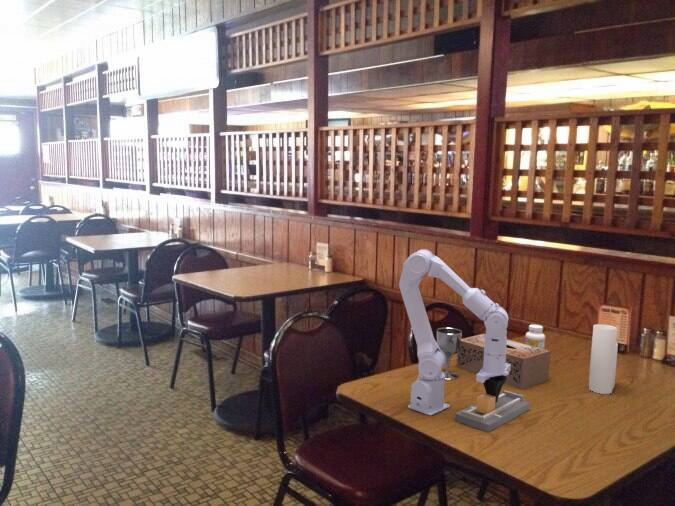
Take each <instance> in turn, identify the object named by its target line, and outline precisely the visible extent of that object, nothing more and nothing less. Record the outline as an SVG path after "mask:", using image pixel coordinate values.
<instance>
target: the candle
mask: <svg viewBox="0 0 675 506" xmlns="http://www.w3.org/2000/svg"><path fill="white" fill-rule="evenodd" d="M617 337H618V327H616V326H614V325H609V324H604V323H603V324H602V323H601V324H600V323H599V324H598V323H597V324H593V328H592V337H591V351H590V364H589V375H588V376H589V377H588V390H589V391H590V390H591V391H590V392H592V391H593V393H595V392H596V393H595V394H599V393H600V394H599V395H611V394H613V389H614V388H615V384H616V383H615V382H616V373H617V362H618V361H617V359H618V358H617V357H618V346H619V344H618V342H617ZM610 393H611V394H610Z"/></svg>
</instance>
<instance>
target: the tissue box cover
mask: <svg viewBox="0 0 675 506" xmlns="http://www.w3.org/2000/svg"><path fill="white" fill-rule="evenodd" d="M485 335H486V333H480V334H477V335H473V336H468V337H462V338H461V344H460V347H459V349H458V350H457V351H456V353H457V354H456V368H457V369H460V370H462V371H466V372H469V373H472V374H474V375H476V374H478V373H479V372H480V371H481V369H482V368H483V361H484V343H485ZM550 361H551V350H549V349H548V350H547V349H545V348H544V349H541V348H537V347H534V346H530V345H526V344H525V343H523V342H518V341H515V340H510V339H507V346H506V363H508V364H511V368H510V371H509V374H508V375H506V377H507V380H506V381H505V383H504V384H503V385H507V386H510V387H513V388H515V389H518V390H519V389H520V390H521V391H522V390H524V389H528V388H531V387H533V386H536V385H539V383H540V384H542V383H546V382H548V381H549V379H550V378H549V376H550V363H551V362H550ZM503 376H504V375H503Z"/></svg>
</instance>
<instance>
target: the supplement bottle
mask: <svg viewBox="0 0 675 506" xmlns="http://www.w3.org/2000/svg"><path fill="white" fill-rule="evenodd" d="M528 330H529V331H527V332H526V333H525V336H524V338H525V339H524V344H526V345H530V346H534V347H537V348H541V349H545V346H546V345H545V343H546V335H545V334H544V333H543V330H544V326H542V325H540V324H530V325H528Z"/></svg>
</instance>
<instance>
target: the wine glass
mask: <svg viewBox="0 0 675 506" xmlns="http://www.w3.org/2000/svg"><path fill="white" fill-rule="evenodd" d="M462 333H463V332H462V330H461V329H458V328H454V327H439V328H437V329H436V342H437V343H438V346H439V348H440V350H441V351H442V352H443V353H444V355H445V357H446V363H445V365H446V368H445V369H446V371H443V373H444V374H445V380H455V379H456V380H457V379H458V378H459V377H460V376H459V375H458V374H457V373H455V372H451V371H450V363H451V359H452V356H454V355H455V353H457V350H458V349H459V347H460V344H461V339H463V337H462V336H463V334H462Z"/></svg>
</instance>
